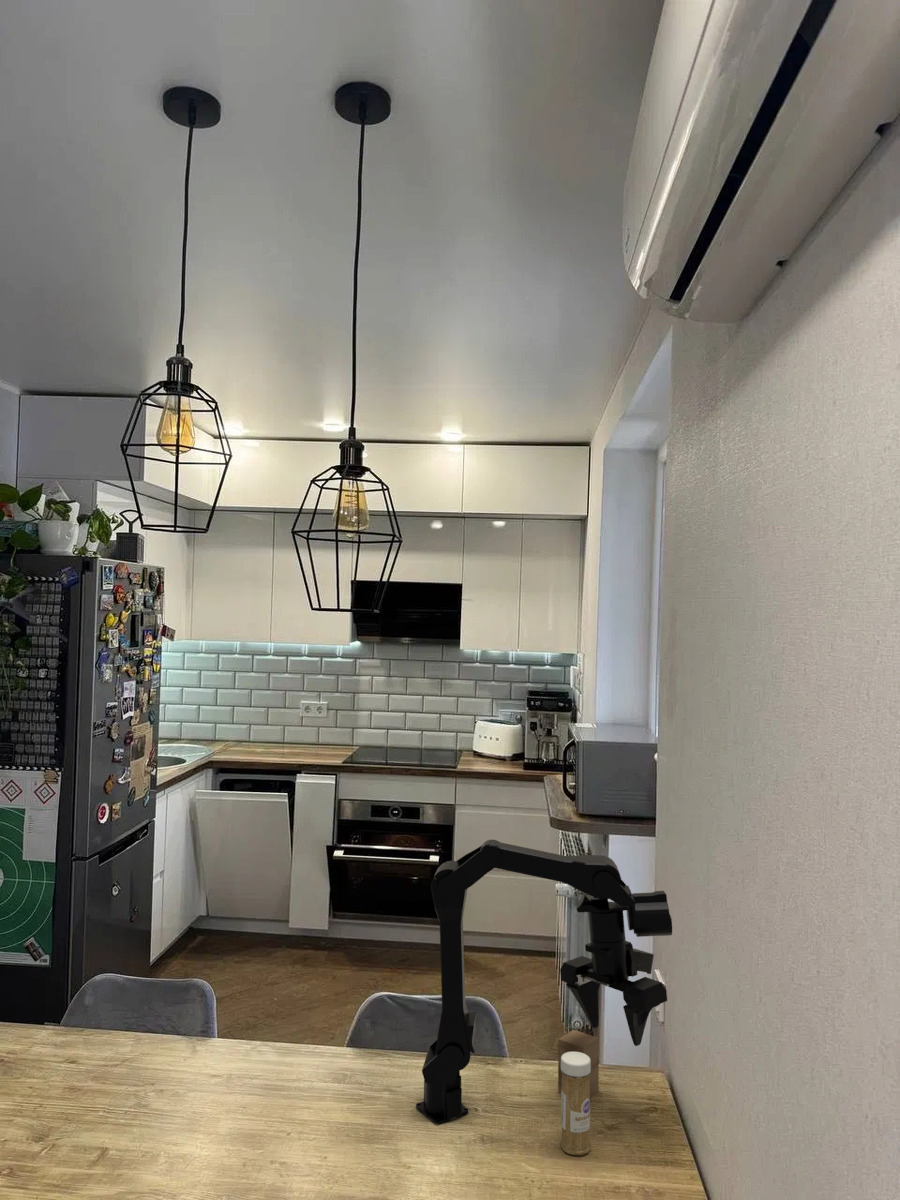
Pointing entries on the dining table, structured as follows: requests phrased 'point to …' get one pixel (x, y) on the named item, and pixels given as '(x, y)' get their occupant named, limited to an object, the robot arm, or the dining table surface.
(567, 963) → the robot arm
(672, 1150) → the dining table surface
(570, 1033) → the walnut block
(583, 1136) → the sprinkles bottle
